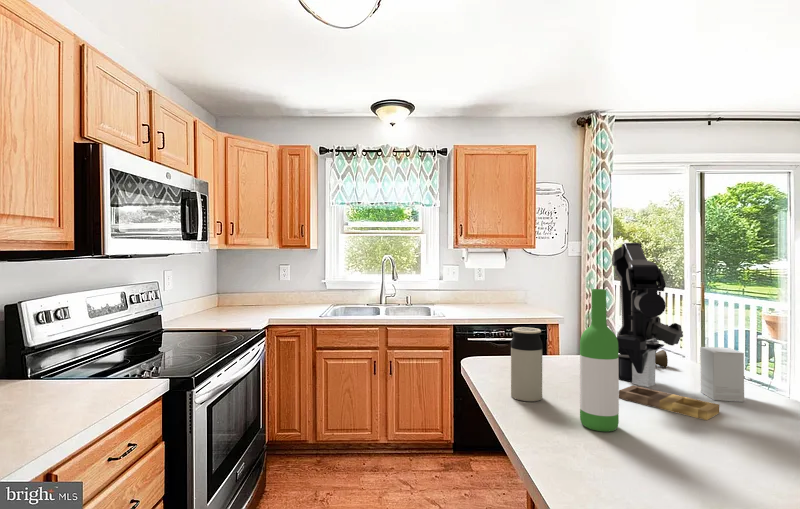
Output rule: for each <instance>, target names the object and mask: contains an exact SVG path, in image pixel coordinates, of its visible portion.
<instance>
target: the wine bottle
mask: <svg viewBox="0 0 800 509" xmlns="http://www.w3.org/2000/svg"><path fill="white" fill-rule="evenodd" d="M590 297H591V301H590V302H591V303H590V304H591V305H590V306H591V312H590V313H591V316H590V318H591V320H590V322H591V324H590V325H589V326H588V327H587V328H586V329H585V330H583V332H582V334H581V336H580V340H579V420H580V423H581V424H582V426H583V427H585V428H587V429H590V430H593V431H596V432H597V431H598V432H606V433H608V432H609V433H610V432H613V431H616V430H617V428H618V427H619V422H620V420H619V417H620V415H619V413H620V412H619V410H620V404H619V402H620V401H619V400H620V398H619V390H620V389H619V380H620V379H619V360H618V354H619V353H618V340H617V335H616V334H615V333H614V331H613V330H612V329H611V328H609V327H608V325H607V290H606V289H603V288H592V289H591V296H590Z"/></svg>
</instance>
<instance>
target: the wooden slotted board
mask: <svg viewBox="0 0 800 509" xmlns="http://www.w3.org/2000/svg"><path fill="white" fill-rule="evenodd" d="M620 399H621V400H626V401H630V402H633V403H636V404H641V405H645V406H649V407H653V408H656V409H660V410H665V411H668V412H673V413H677V414H680V415H685V416H687V417H692V418H696V419H700V420H705V421H708V420H711V419H712V418H714V417H716V415H719V414H720V404H719V403H714V402H710V401H705V400H700V399H697V398H696V399H695V398H691V397H688V396H687V397H686V396H683V395H678V394H674V393H669V392H665V391H661V390H656V389H652V388H649V387H647V388H646V387H644V386H640V385H635V384H633V385H630V386H627V387H624V388H622V389H619V400H620Z"/></svg>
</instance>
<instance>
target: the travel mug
mask: <svg viewBox="0 0 800 509" xmlns="http://www.w3.org/2000/svg"><path fill="white" fill-rule="evenodd" d="M511 331H512V332H513V336H512V338H511V339H510V396H511V397H512V398H513V399H515V400H517V401H521V402H525V403H533V402H538V401H540V400H542V399H543V341H542V340H541V336H540V335H541V333H542V330H541V329H540V328H535V327H525V326H521V327H520V326H518V327H513V328H512V329H511Z"/></svg>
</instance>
